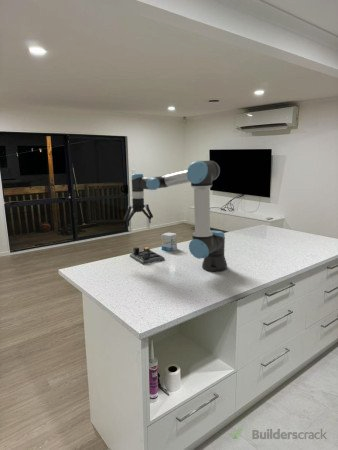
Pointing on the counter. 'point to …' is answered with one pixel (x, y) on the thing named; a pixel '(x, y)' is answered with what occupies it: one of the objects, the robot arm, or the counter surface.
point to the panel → (151, 257)
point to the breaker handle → (147, 250)
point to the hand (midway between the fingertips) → (139, 229)
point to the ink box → (169, 241)
